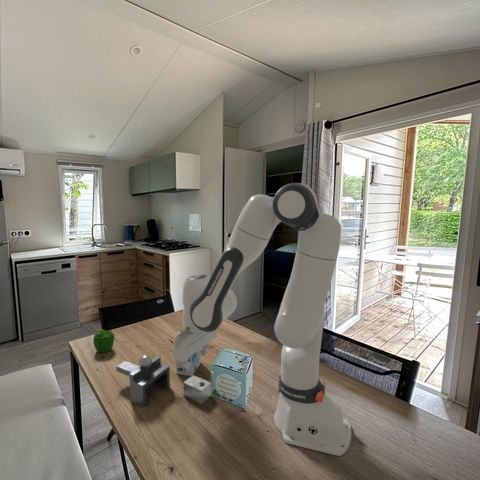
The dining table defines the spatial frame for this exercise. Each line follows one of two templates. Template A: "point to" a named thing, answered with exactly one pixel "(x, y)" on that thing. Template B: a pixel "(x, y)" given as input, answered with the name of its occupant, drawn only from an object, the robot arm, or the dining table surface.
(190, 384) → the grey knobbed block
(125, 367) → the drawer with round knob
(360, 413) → the dining table surface
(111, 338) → the bell pepper
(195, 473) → the dining table surface
